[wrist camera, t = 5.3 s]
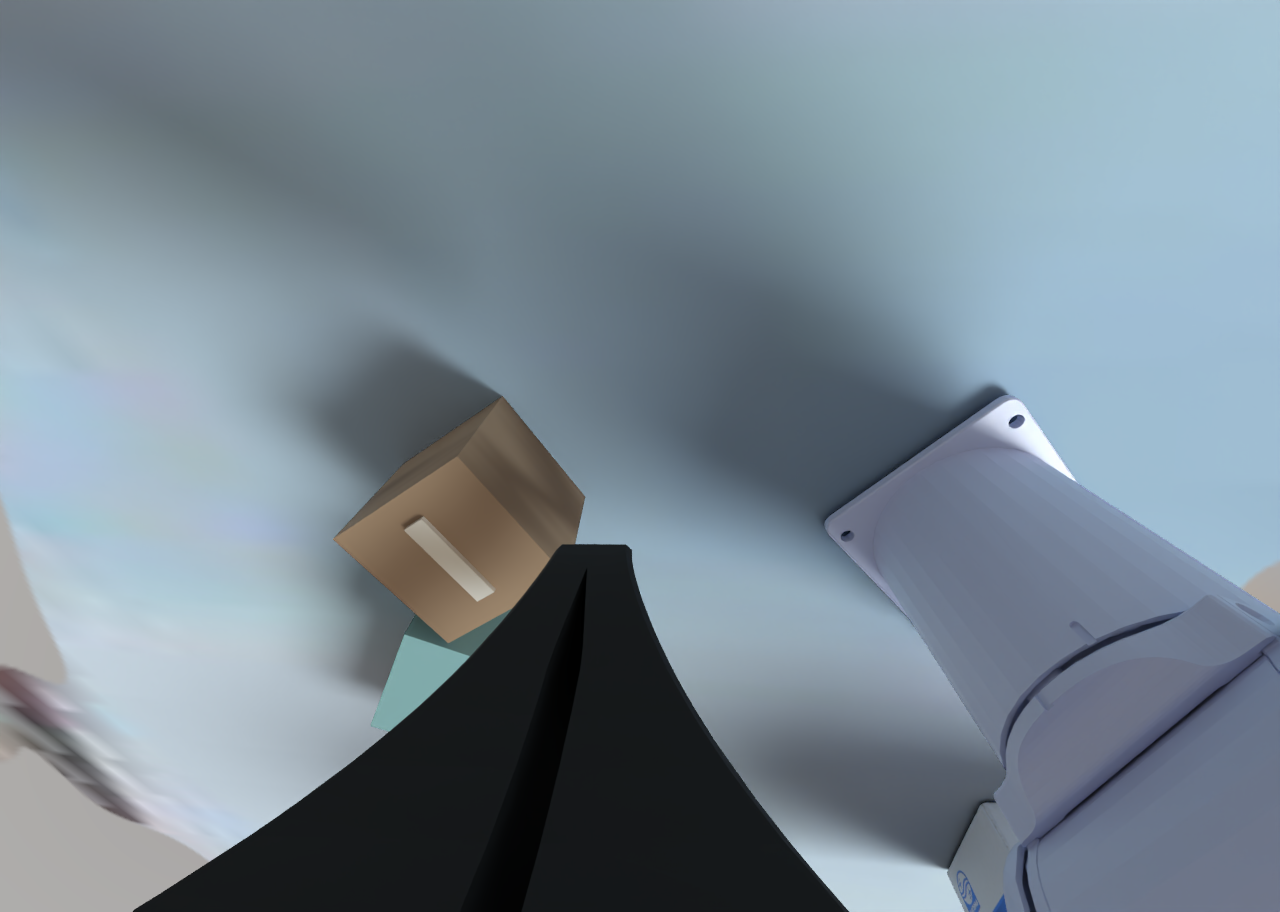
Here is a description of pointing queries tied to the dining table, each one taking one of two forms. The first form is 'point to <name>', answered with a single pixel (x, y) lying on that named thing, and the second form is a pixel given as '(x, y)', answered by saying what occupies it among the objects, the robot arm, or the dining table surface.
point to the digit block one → (467, 522)
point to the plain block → (424, 668)
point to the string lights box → (983, 861)
